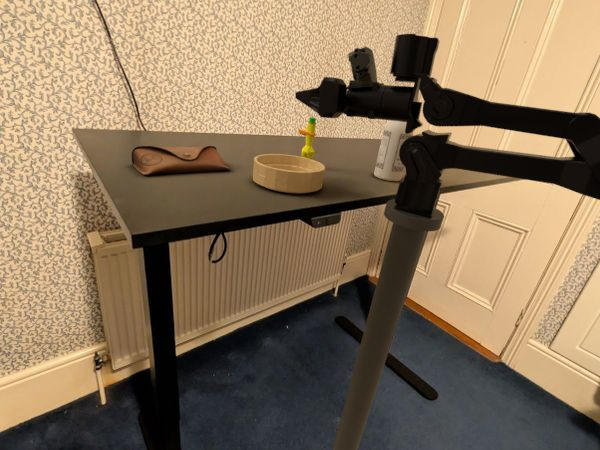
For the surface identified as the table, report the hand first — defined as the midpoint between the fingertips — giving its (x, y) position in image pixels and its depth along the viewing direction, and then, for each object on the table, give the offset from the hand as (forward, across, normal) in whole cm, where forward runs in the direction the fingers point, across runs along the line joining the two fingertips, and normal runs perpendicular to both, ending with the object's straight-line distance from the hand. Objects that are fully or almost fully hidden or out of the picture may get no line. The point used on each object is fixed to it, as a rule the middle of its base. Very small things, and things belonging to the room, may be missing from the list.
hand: (307, 96), depth 64 cm
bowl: (0, +5, +17) cm, 18 cm away
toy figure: (+6, -13, +17) cm, 22 cm away
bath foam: (-14, -22, +18) cm, 31 cm away
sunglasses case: (+20, +14, +16) cm, 29 cm away
